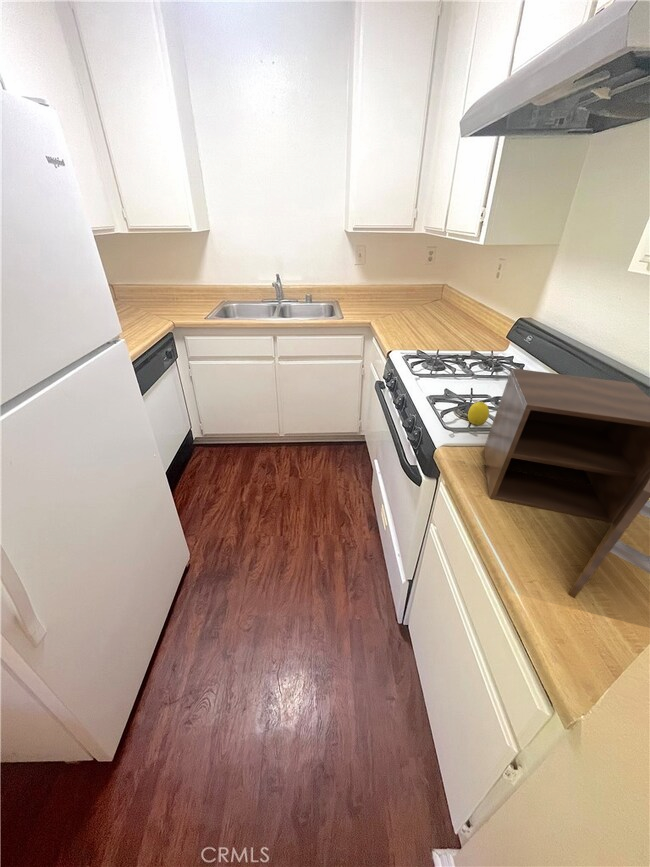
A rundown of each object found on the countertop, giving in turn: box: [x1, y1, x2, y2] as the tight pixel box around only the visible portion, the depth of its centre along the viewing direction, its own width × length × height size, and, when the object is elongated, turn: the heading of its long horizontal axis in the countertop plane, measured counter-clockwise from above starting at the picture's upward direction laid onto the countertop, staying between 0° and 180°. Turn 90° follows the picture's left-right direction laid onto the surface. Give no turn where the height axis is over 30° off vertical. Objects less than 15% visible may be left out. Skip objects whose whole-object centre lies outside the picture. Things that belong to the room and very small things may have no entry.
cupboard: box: [483, 368, 650, 524], centre depth 75 cm, size 18×24×24 cm
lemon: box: [467, 401, 490, 426], centre depth 101 cm, size 6×6×8 cm
